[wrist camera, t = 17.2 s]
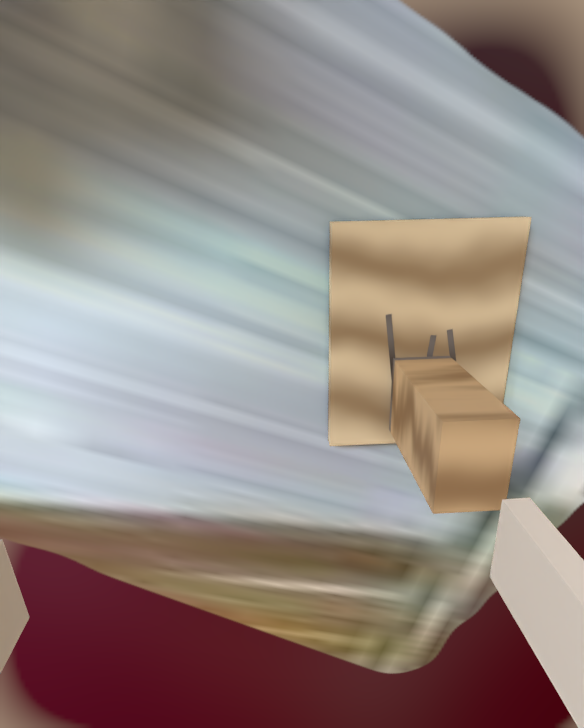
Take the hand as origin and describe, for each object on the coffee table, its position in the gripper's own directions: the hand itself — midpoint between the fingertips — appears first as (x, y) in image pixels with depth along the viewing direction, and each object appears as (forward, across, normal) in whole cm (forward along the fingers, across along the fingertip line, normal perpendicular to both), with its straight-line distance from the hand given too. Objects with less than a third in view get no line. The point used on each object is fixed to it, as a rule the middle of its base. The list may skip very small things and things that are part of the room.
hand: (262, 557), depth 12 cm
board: (+28, +14, -4) cm, 32 cm away
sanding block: (+27, +14, -9) cm, 32 cm away
